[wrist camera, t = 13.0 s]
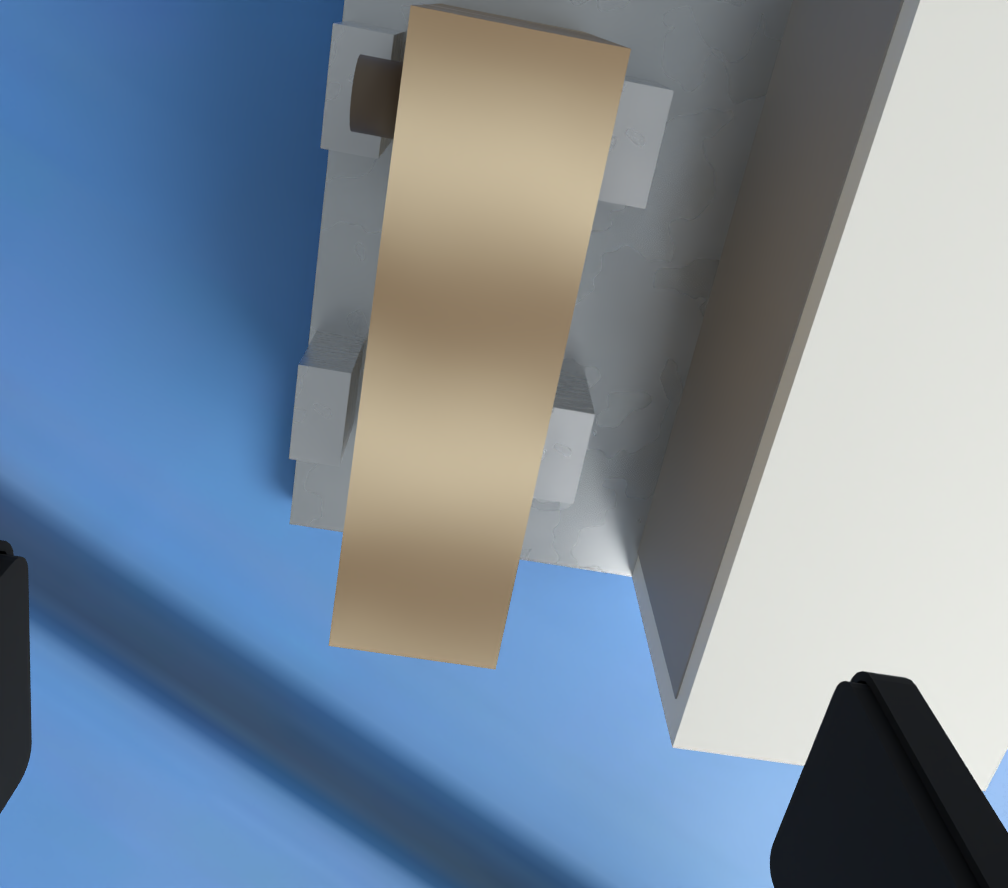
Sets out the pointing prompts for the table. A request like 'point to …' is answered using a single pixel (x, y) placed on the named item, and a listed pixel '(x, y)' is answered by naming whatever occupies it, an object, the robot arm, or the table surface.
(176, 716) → the table surface
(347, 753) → the table surface
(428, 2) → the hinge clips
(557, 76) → the door
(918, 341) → the cabinet
